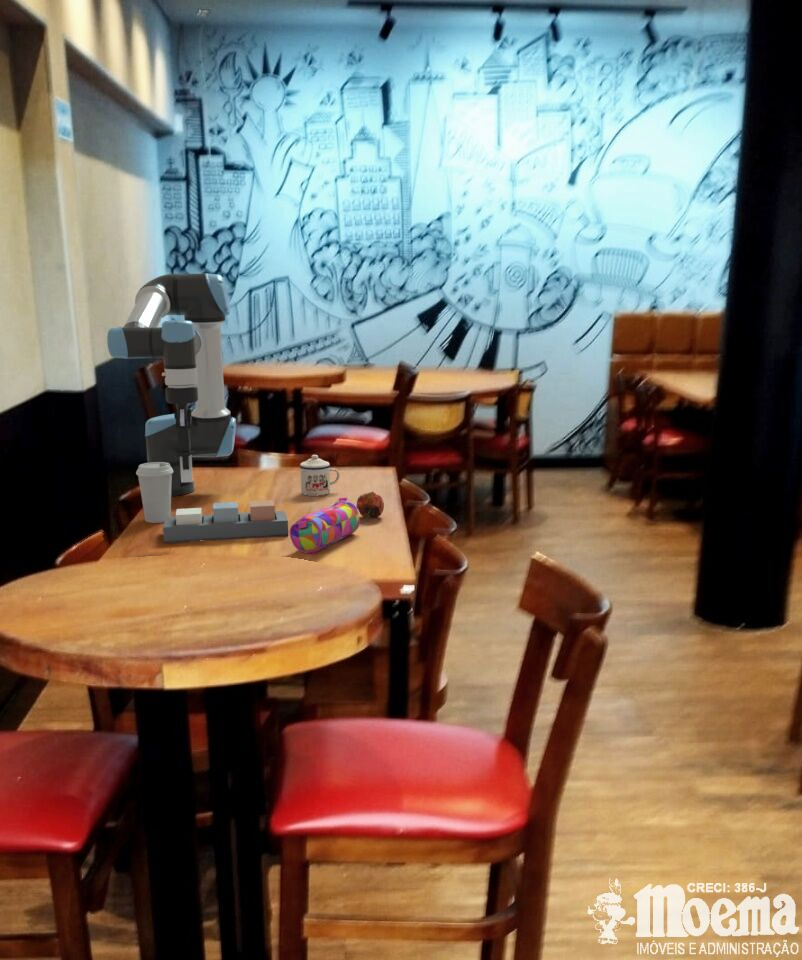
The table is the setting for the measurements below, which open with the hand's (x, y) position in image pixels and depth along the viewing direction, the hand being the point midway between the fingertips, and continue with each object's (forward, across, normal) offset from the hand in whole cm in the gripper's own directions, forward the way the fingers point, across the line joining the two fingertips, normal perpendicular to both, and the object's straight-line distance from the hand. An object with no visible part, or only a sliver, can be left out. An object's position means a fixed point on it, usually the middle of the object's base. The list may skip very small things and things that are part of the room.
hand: (187, 481), depth 211 cm
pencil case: (+14, +13, +33) cm, 38 cm away
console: (+14, 0, +9) cm, 17 cm away
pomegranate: (+14, -8, +47) cm, 50 cm away
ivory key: (+12, 0, 0) cm, 12 cm away
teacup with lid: (+15, -40, +37) cm, 56 cm away
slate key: (+11, 0, +9) cm, 14 cm away
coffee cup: (+14, -18, -9) cm, 25 cm away
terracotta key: (+11, 0, +18) cm, 21 cm away
